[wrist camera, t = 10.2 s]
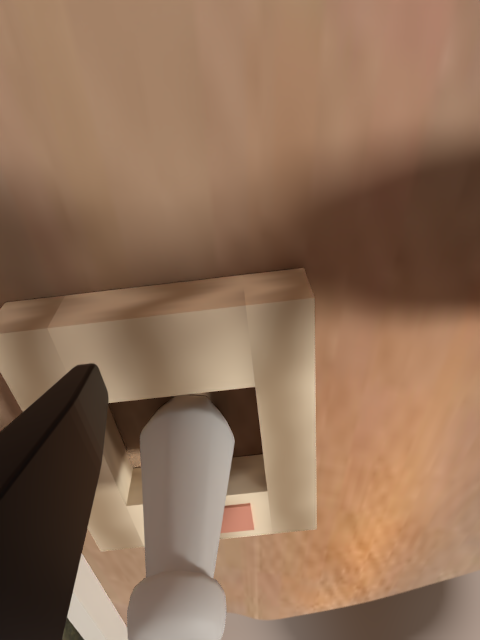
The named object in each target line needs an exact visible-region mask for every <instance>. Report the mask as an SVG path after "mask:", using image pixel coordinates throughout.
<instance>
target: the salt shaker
mask: <svg viewBox="0 0 480 640" xmlns="http://www.w3.org/2000/svg"><path fill="white" fill-rule="evenodd" d="M234 443H235V440H234V436H233V433H232V431H231V429H230V427H229V425H228V423H227V421H226V420H225V418H224V417H223V415H222V413H221V412H220V411H219V410H218V409H217V408H216V406H215V405H214V404H213V403H212V402H211V401H210V400H209V398H208V397H207V396H198V395H177V396H175V397H173V398H172V399H171V400H169V401H168V402H167V403H165V404H164V405H163V406H162V407H160V408H159V409H158V410H157V412H156V413H155V414H154V415H153V417H152V418H151V419H150V420H149V422H148V423H147V424H146V425H145V427H144V428H143V429H142V432H141V434H140V456H141V472H142V494H143V517H144V540H145V563H146V578H144V579H143V580H142V581H141V582H140V583H139V584H138V585H136V586H135V587H134V589H133V591H132V594H131V596H130V601H129V606H128V611H127V633H128V640H221V638H222V635H223V632H224V627H225V620H226V596H225V593H224V590H223V588H222V587H221V585H220V584H219V583H218V581H217V580H215V579H213V577H214V571H215V564H216V558H217V552H218V545H219V539H220V532H221V526H222V520H223V513H224V507H225V500H226V494H227V488H228V481H229V475H230V469H231V462H232V456H233V449H234Z"/></svg>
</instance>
